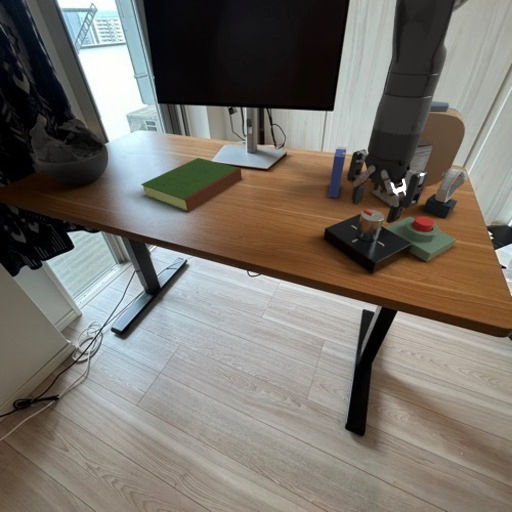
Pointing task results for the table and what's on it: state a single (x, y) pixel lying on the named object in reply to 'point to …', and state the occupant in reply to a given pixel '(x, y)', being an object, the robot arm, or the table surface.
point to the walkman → (337, 171)
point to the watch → (446, 193)
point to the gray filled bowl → (70, 153)
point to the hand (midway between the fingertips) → (372, 211)
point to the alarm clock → (442, 140)
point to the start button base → (422, 239)
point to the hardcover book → (192, 183)
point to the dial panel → (367, 245)
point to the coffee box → (415, 165)
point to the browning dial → (369, 225)
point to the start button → (423, 224)
